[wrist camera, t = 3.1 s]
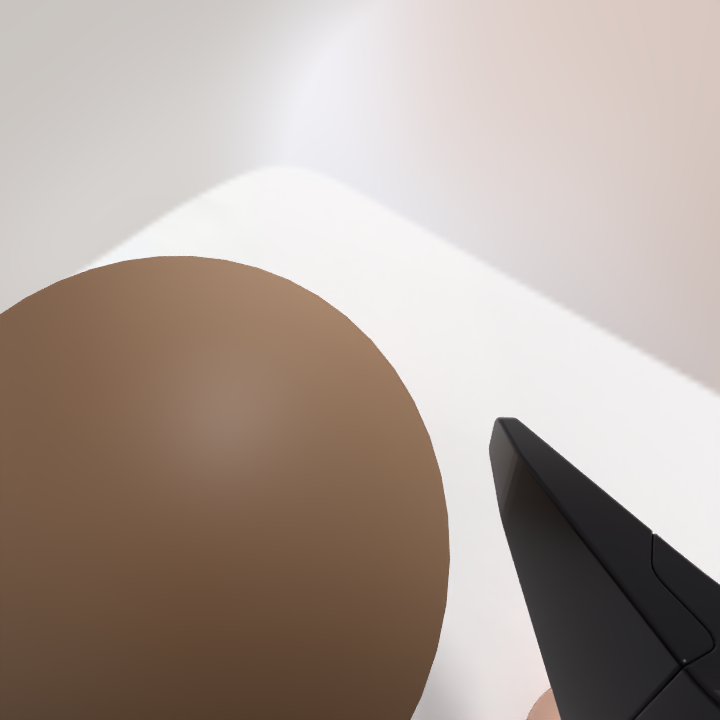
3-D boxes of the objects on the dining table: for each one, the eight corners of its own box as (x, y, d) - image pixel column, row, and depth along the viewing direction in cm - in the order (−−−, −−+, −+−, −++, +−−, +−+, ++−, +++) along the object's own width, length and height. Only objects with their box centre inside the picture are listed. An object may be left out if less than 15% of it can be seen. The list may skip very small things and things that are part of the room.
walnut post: (330, 561, 15) (111, 1137, 2) (242, 475, 16) (-279, 562, 3) (410, 464, 16) (575, 508, 3) (322, 386, 16) (163, 163, 4)
